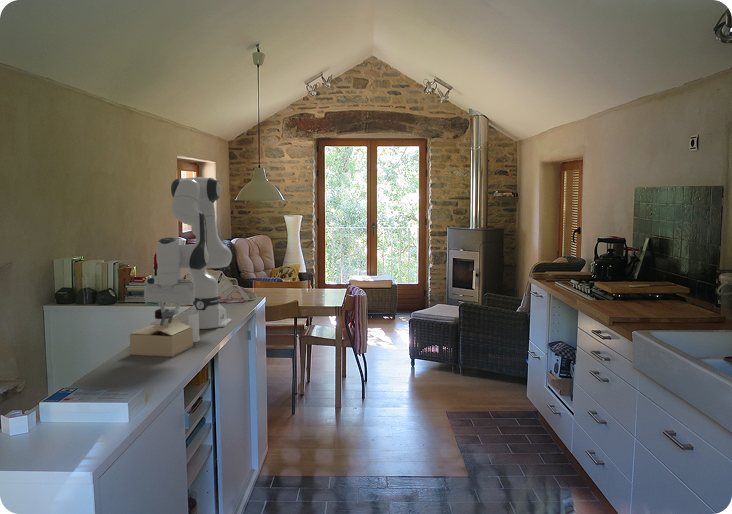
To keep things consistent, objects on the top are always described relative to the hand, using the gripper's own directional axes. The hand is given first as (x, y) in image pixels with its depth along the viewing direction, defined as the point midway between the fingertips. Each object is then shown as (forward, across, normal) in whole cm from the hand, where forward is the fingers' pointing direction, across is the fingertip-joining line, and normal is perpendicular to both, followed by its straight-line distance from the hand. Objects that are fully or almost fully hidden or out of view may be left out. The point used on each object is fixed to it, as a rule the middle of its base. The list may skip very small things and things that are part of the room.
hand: (169, 313), depth 229 cm
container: (+15, +14, -18) cm, 27 cm away
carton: (+15, +4, 0) cm, 15 cm away
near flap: (+5, -1, 0) cm, 5 cm away
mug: (+15, +1, -16) cm, 22 cm away
